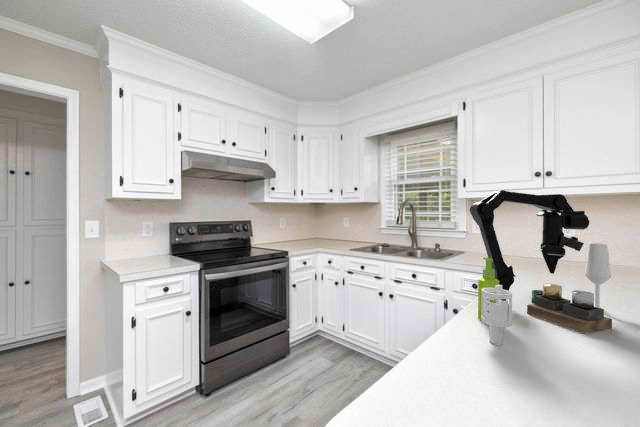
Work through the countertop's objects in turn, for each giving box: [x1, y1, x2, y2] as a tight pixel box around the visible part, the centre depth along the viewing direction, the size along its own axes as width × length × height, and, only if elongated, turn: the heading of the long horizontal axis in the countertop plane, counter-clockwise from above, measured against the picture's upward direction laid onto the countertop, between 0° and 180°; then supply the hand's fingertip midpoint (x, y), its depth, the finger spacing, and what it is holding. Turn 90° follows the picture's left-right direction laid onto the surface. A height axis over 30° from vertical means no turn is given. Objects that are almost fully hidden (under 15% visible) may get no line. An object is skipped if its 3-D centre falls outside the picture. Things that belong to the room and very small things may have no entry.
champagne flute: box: [584, 242, 612, 316], centre depth 102 cm, size 7×7×24 cm
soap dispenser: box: [477, 257, 499, 322], centre depth 95 cm, size 6×7×20 cm
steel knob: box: [571, 289, 595, 308], centre depth 89 cm, size 5×5×4 cm
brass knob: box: [542, 283, 563, 299], centre depth 98 cm, size 5×5×4 cm
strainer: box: [480, 285, 513, 346], centre depth 78 cm, size 7×7×15 cm
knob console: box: [526, 295, 613, 334], centre depth 94 cm, size 12×17×6 cm
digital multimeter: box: [531, 289, 543, 304], centre depth 115 cm, size 7×15×3 cm, turn 144°
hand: (551, 271), depth 106 cm, fingers open, 9 cm apart
